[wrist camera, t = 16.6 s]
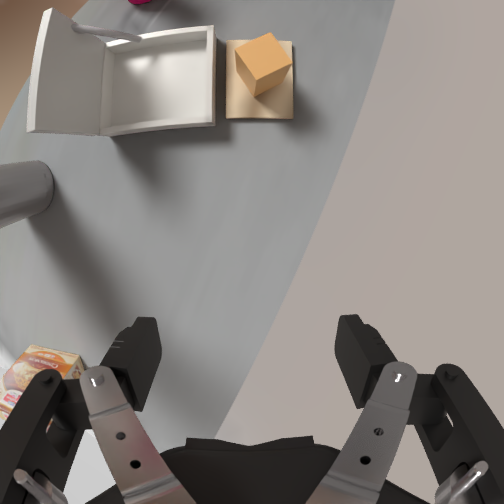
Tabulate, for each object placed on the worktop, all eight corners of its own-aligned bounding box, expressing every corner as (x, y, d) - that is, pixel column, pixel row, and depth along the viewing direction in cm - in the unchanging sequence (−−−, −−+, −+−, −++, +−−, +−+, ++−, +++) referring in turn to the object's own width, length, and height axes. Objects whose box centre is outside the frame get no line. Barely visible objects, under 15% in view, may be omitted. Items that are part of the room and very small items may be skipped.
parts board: (226, 118, 36) (225, 117, 36) (227, 42, 33) (226, 40, 32) (292, 119, 37) (293, 118, 36) (290, 43, 33) (291, 41, 32)
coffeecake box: (79, 354, 49) (36, 419, 30) (88, 379, 51) (53, 443, 32) (30, 342, 48) (-15, 394, 30) (40, 366, 50) (1, 419, 32)
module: (253, 97, 35) (256, 80, 26) (236, 71, 33) (234, 48, 25) (282, 82, 34) (292, 62, 26) (265, 57, 33) (270, 32, 24)
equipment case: (106, 137, 36) (26, 132, 19) (110, 53, 32) (43, 11, 14) (215, 126, 37) (191, 99, 19) (216, 37, 32) (198, -33, 15)
